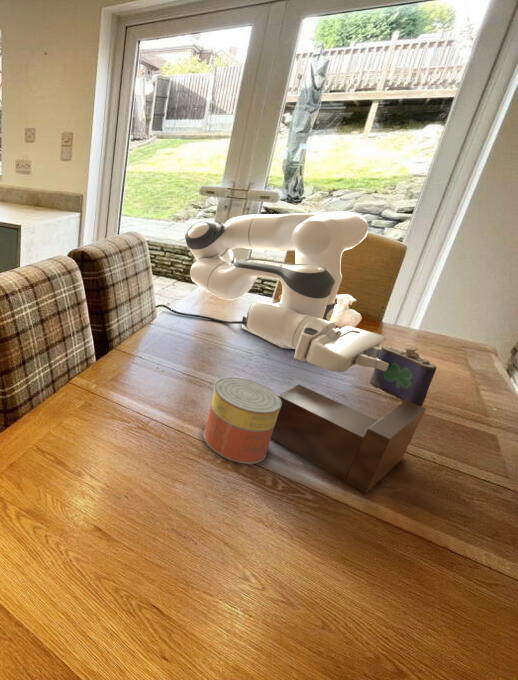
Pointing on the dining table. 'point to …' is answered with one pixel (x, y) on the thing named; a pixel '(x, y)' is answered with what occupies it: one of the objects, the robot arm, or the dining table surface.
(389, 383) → the flask
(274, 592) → the dining table surface
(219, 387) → the canned food
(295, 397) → the l-shaped brown block
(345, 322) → the white tied sack
